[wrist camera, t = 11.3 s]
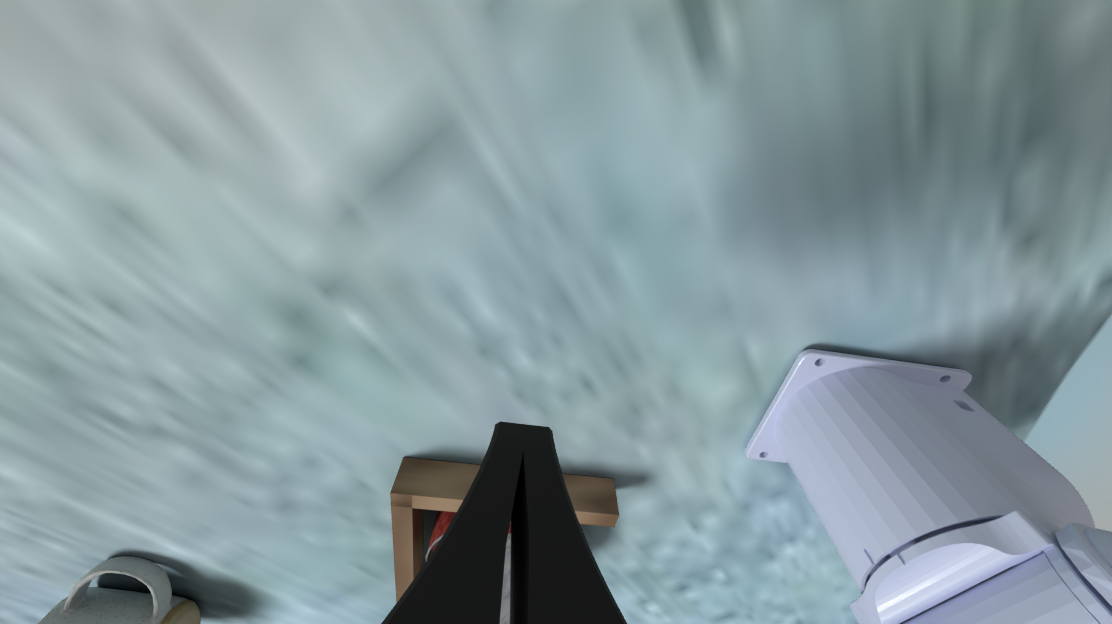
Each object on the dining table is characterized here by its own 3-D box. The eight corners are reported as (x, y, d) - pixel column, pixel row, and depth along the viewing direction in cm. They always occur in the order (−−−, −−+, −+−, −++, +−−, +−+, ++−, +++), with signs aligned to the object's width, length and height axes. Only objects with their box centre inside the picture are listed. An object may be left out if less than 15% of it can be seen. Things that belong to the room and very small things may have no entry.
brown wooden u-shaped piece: (613, 479, 28) (619, 515, 26) (568, 605, 36) (569, 640, 34) (403, 457, 26) (390, 493, 24) (407, 592, 35) (397, 628, 33)
